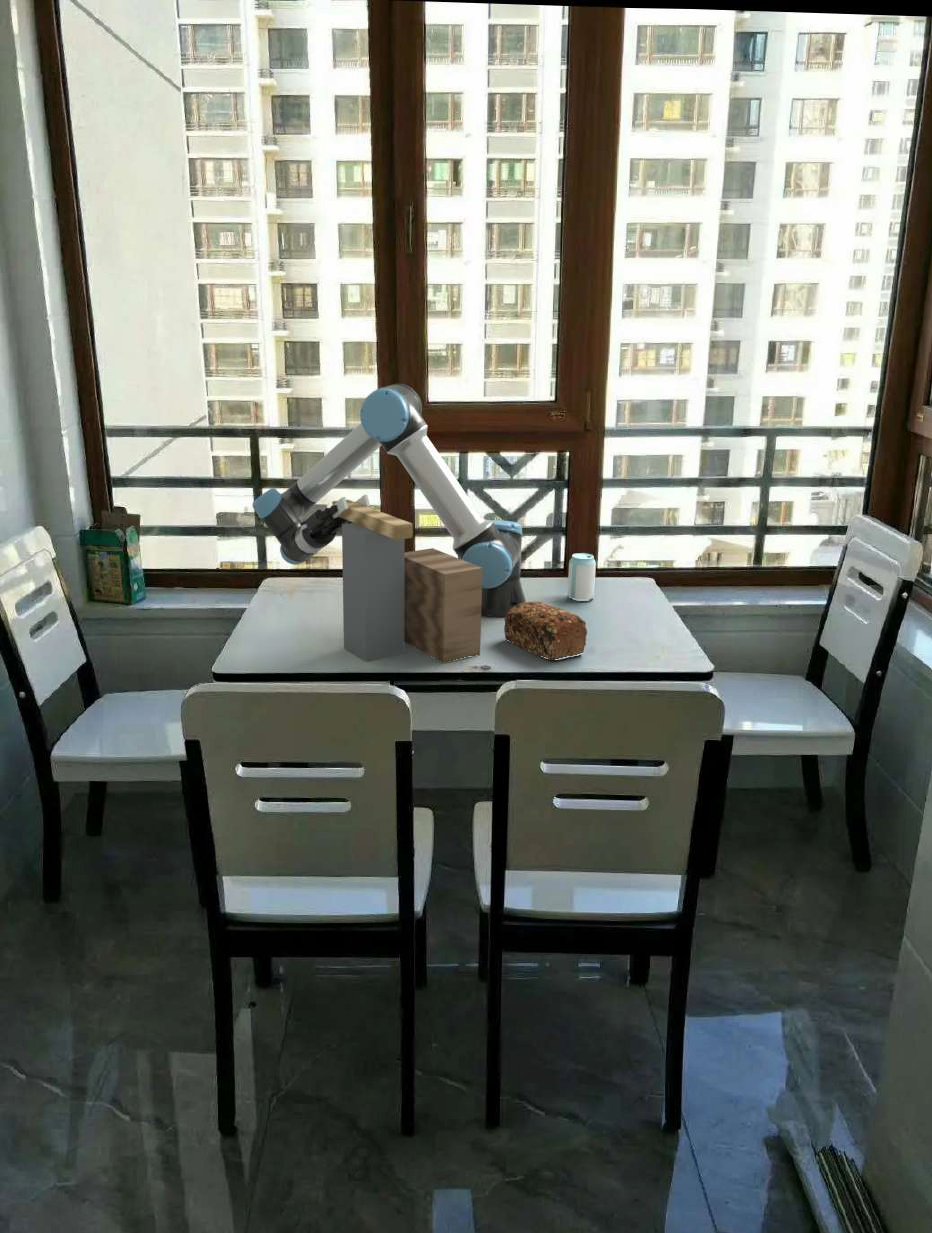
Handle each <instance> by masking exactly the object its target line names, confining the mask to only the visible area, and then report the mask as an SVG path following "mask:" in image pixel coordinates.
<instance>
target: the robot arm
mask: <svg viewBox="0 0 932 1233" xmlns="http://www.w3.org/2000/svg"><path fill="white" fill-rule="evenodd" d="M422 405H423V404H422V400H421V398H420V396H419V394H418V393H417V392H416V391H415V389H413V388H412V387H410V386H409V385H406V384H403V383H394V384H393V383H392V384H390V385H387V386H383V387H380V388H379V387H378V388H377V389H375V390H373V391H372V392H371V393H370V394H368V395H367V396H366V397H365V399H364V400H363V401H362V404H361V407H360V412H359V416H360V417H359V418H360V423H359V424H358V425H357V426H356V427H355V428H353V430H351V431H350V432H349V433H348V434H347V435H346V436H345V437H344V438H343V439H342V440H341V441H339V443H337V444H336V445H335V446H334V447H333V448H332V449H331V450H330V451H328V452H327V453H326V454H325V455H324V456H323V457H322V458H320V460H318V461H317V462H316V463H315V464H314V465H313V466H312V467H311V468H309V469H308V471H307V472H305V473H304V474H303V475H302V476H301V477H300V478H298V479H297V481H296V482H294V483H293V484H291V486H290V487H289V488H287V489H286V490H285V491H284V492H282V493H281V492H279V491H278V490H277V489H276V488H274V487H272V488H270V489H268V490H266V491H265V492H264V493H262V494H261V495H260V496H258V497H257V498H255V500H254V501H253V502H252V506H251V507H252V508H253V510H254V512H256V514H257V515H258V518H259V519H261V521H262V523H264V524H265V526H266V527H267V528H268V530H269V531H270V532H271V533H272V535H273V536H274V537H275V539H276V540H277V542H278V543H279V544H280V547H279V551H280V552H279V553H280V555H281V557H282V560H284V561H285V562H286V563H288V564H291V565H300V564H303V563H305V562H307V561H308V560H310V559H311V558H312V557H314V555H317V554H318V552H319V551H321V550H322V549H324V548H325V547H327V546H328V545H329V544H331V543H332V542H333V541H334V540H335V537H336V535H337V532H338V531H339V530H342V524H349V523H353V522H351V521H348V520H346V519H343V518H341V517H338V516H339V515H341V514H342V513H343V512H344V511H346V510H347V509H348V506H347V502H346V500H347V499H346V496H342V497H341V498H339V499H338V500H336V501H337V502H336V503H335V504H333V505H331V506H329V507H326V508H325V509H317V510H316V511H314V512H313V513H312V514H311V515H310V516H308V518H306V519H305V520H303V521H302V520H301V519H300V518H301V517H303V516H305V515H306V514H307V513H308V512H310V510H311V509H312V507H314V506H315V505H316V504H317V503H318V502H319V501H320V500H321V499H322V498H324V497H325V496H326V495H327V494H328V493H329V492H331V490H333V489H334V488H335V487H336V486H337V485H338V484H339V483H341V482H342V481H343V480H344V479H345V478H346V477H348V475H350V474H351V473H352V472H354V470H355V469H356V468H358V467H359V466H360V465H361V464H363V463H364V462H365V461H366V460H367V459H368V458H369V457H370V456H371V455H373V454H374V453H375V452H376V451H377V450H378V449H380V447H382V448H383V449H384V451H385V452H386V454H387V455H392V456H396V457H397V458H398V460H399V461H400V462H401V464H402V465H403V467H404V468H405V470H406V472H407V473H408V474H409V476H410V477H411V479H412V480H413V481H414V483H415V485H416V486H417V488H418V490H420V492H421V493H422V495H423V496H424V497H425V499H426V501H427V502H428V504H429V505H430V506H431V508H432V509H433V511H434V512H435V514H436V515H437V517H438V518H439V520H440V521H441V523H442V524H443V525H444V527H445V528H446V529H447V531H448V533H449V534H450V535H451V537H452V539H453V541H452V542H453V543H452V549H453V551H454V553H455V554H456V555H457V558H459V559H461V560H464V561H466V562H469V563H471V564H474V565H476V566H479V567H481V568H483V570H482V603H481V616H487V617H496V618H497V617H498V618H499V617H500V618H501V617H503V618H505V617H504V616H505V615H506V614H507V612H508V611H509V610H510V609H512V608H514V606H516V605H517V604H520V603H523V602H527V600H526V596H525V592H524V590H523V586H522V582H521V566H522V564H521V563H522V542H523V541H522V540H523V539H522V538H523V534H524V533H523V526H522V525H521V524H520V523H518V522H515V521H511V520H510V521H509V520H495V519H485V518H483V516H482V515H481V513H480V512H479V511H478V509H477V508H476V506H475V505H474V503H473V501H472V500H471V499H470V497H469V496H468V494H467V493H466V492H465V490H464V488H463V487H462V485H461V484H460V482H459V481H458V480H457V478H456V477H455V475H454V474H453V472H452V470H451V469H450V468H449V466H448V465H447V463H446V462H445V461H444V459H443V458H442V456H441V454H440V453H439V452H438V450H437V448H436V447H435V445H434V444H433V443H432V442H431V440H430V439H429V437H428V434H427V433H428V424H427V423H426V421H425V420H424V418H423V416H422V411H423V406H422ZM355 502H356V503H358V504H361V505H364V506H366V507H369V508H370V506H371V502H370V500H369V496H368V494H363V495H362V496H361V497H359V499H357V500H355Z"/></svg>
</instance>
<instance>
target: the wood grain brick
mask: <svg viewBox="0 0 932 1233" xmlns="http://www.w3.org/2000/svg"><path fill="white" fill-rule="evenodd" d="M482 570H483V568H481V567H479V566H476V565H474V564H471V563H469V562H466V561H464V560H461V559H460V558H459V557H456V556H454V555H451V554H449V553H446V552H444V551H442V550H439V549H436V548H433V547H431V548H424V549H417V550H412V551H405V560H404V644H407V645H409V646H411V647H412V648H414V647H415V649H416V650H418V651H419V652H421V653H424V654H425V655H427V656H429V657H431V656H432V657H431V658H433V657H434V658H435V659H434V658H433V659H434V660H436V659H437V661H438V660H439V661H438V662H440V661H441V662H440V663H442V662H443V663H442V664H446V663H445V662H448V663H450V662H449V661H452V662H454V661H453V660H456V659H460V658H464V657H468V656H474V657H477V656H476V655H478V656H481V633H482V632H481V629H482V615H481V603H482ZM456 661H457V660H456Z"/></svg>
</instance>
